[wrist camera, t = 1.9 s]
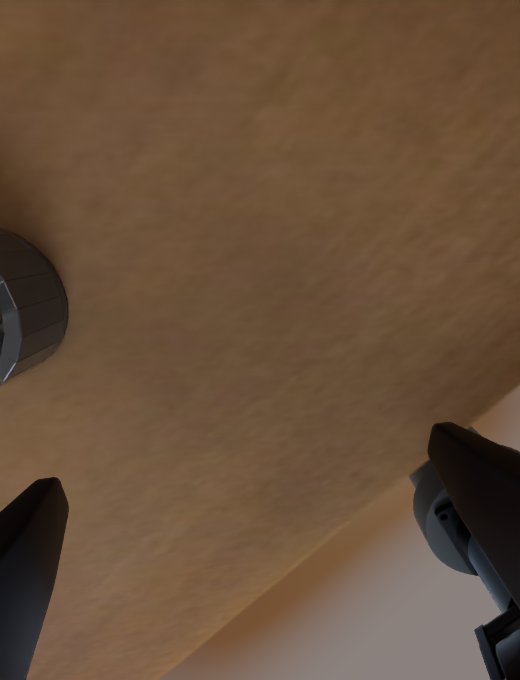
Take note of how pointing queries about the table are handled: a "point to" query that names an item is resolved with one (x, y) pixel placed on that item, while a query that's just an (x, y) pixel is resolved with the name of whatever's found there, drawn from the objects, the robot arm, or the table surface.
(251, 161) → the table surface
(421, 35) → the table surface
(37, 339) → the cup
